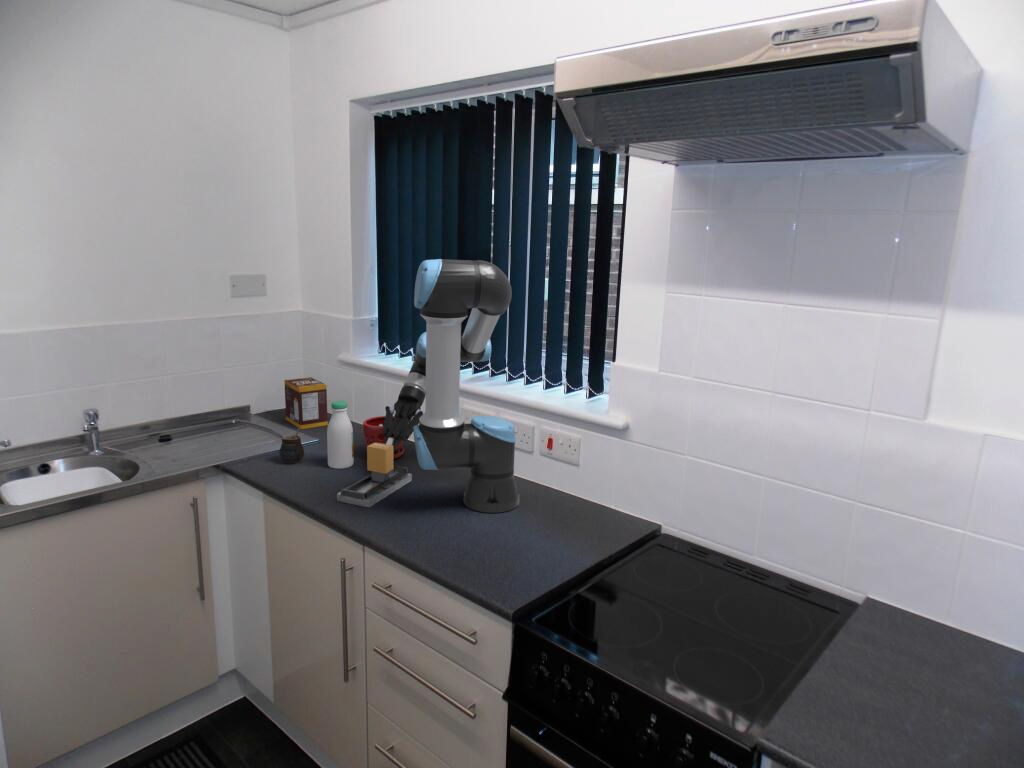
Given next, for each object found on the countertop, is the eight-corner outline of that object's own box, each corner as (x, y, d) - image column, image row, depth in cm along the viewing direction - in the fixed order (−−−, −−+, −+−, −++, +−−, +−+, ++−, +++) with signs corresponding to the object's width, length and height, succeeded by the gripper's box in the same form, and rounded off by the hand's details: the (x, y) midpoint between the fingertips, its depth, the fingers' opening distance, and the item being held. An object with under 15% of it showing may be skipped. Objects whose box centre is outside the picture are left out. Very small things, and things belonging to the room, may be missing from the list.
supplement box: (311, 415, 258) (310, 376, 255) (328, 425, 247) (327, 384, 243) (285, 419, 252) (283, 379, 249) (300, 429, 240) (299, 387, 237)
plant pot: (399, 448, 224) (399, 413, 221) (409, 460, 212) (409, 424, 209) (360, 451, 219) (359, 416, 216) (367, 464, 207) (367, 427, 204)
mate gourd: (275, 464, 204) (273, 432, 202) (287, 456, 212) (286, 426, 210) (296, 466, 203) (295, 434, 201) (308, 458, 211) (307, 428, 208)
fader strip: (382, 474, 199) (382, 463, 198) (413, 480, 195) (413, 468, 194) (335, 501, 178) (335, 488, 178) (368, 508, 175) (368, 495, 174)
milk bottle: (350, 469, 202) (348, 406, 197) (324, 468, 202) (322, 405, 198) (356, 461, 209) (355, 399, 205) (332, 460, 209) (330, 398, 205)
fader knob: (375, 475, 191) (375, 441, 189) (393, 479, 189) (393, 444, 187) (367, 480, 188) (367, 445, 185) (385, 483, 185) (385, 448, 183)
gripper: (437, 400, 202) (409, 469, 191) (400, 395, 207) (370, 462, 196) (428, 386, 196) (398, 457, 185) (390, 381, 201) (359, 450, 190)
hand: (384, 459), depth 191 cm, fingers closed
